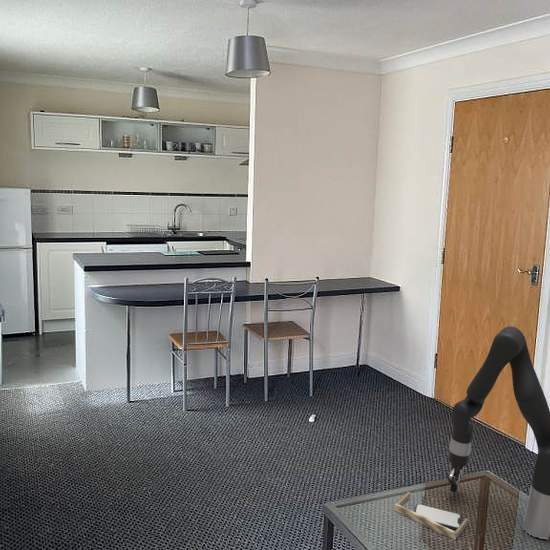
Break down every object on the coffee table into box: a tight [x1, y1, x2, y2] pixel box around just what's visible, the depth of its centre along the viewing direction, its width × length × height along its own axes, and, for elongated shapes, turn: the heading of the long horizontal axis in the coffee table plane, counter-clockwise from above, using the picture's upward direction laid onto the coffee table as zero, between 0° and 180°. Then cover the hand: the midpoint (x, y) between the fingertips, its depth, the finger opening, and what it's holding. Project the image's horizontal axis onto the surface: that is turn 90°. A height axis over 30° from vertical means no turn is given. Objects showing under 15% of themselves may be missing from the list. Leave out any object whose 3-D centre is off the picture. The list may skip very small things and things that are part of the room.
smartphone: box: [414, 503, 462, 531], centre depth 214 cm, size 9×2×16 cm
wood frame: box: [393, 491, 469, 541], centre depth 214 cm, size 23×11×2 cm, turn 53°
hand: (453, 491), depth 227 cm, fingers closed
